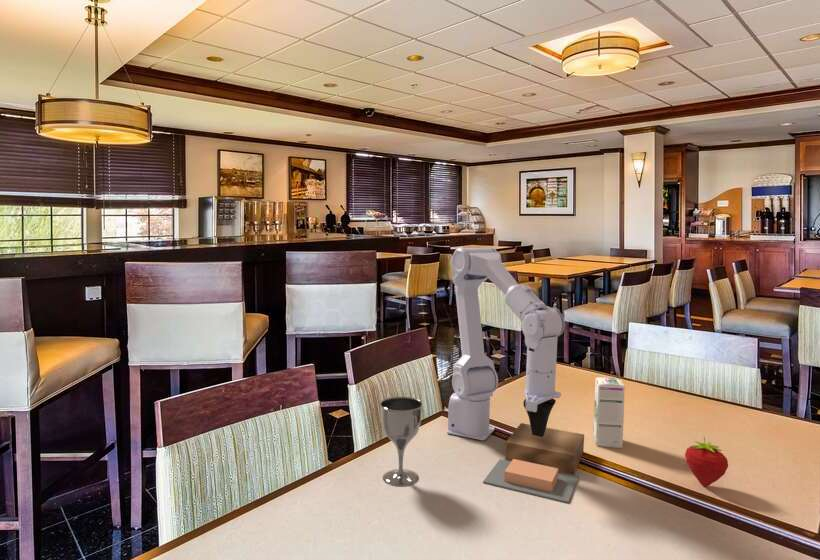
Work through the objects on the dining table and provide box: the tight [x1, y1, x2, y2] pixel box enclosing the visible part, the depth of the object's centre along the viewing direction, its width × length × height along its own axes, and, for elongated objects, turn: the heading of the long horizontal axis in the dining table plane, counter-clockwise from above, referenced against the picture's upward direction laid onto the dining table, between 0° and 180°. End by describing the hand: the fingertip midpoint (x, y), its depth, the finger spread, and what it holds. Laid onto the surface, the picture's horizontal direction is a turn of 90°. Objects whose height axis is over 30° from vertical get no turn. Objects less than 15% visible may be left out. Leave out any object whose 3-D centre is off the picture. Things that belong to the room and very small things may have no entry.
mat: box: [482, 458, 579, 504], centre depth 103 cm, size 16×11×1 cm
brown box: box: [504, 422, 585, 475], centre depth 113 cm, size 14×12×4 cm
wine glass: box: [380, 396, 423, 487], centre depth 103 cm, size 8×8×15 cm
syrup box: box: [593, 376, 626, 449], centre depth 120 cm, size 6×6×14 cm
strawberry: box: [684, 436, 729, 487], centre depth 101 cm, size 6×8×10 cm
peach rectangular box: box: [504, 459, 558, 492], centre depth 102 cm, size 9×6×2 cm, turn 63°
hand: (538, 434), depth 107 cm, fingers closed
